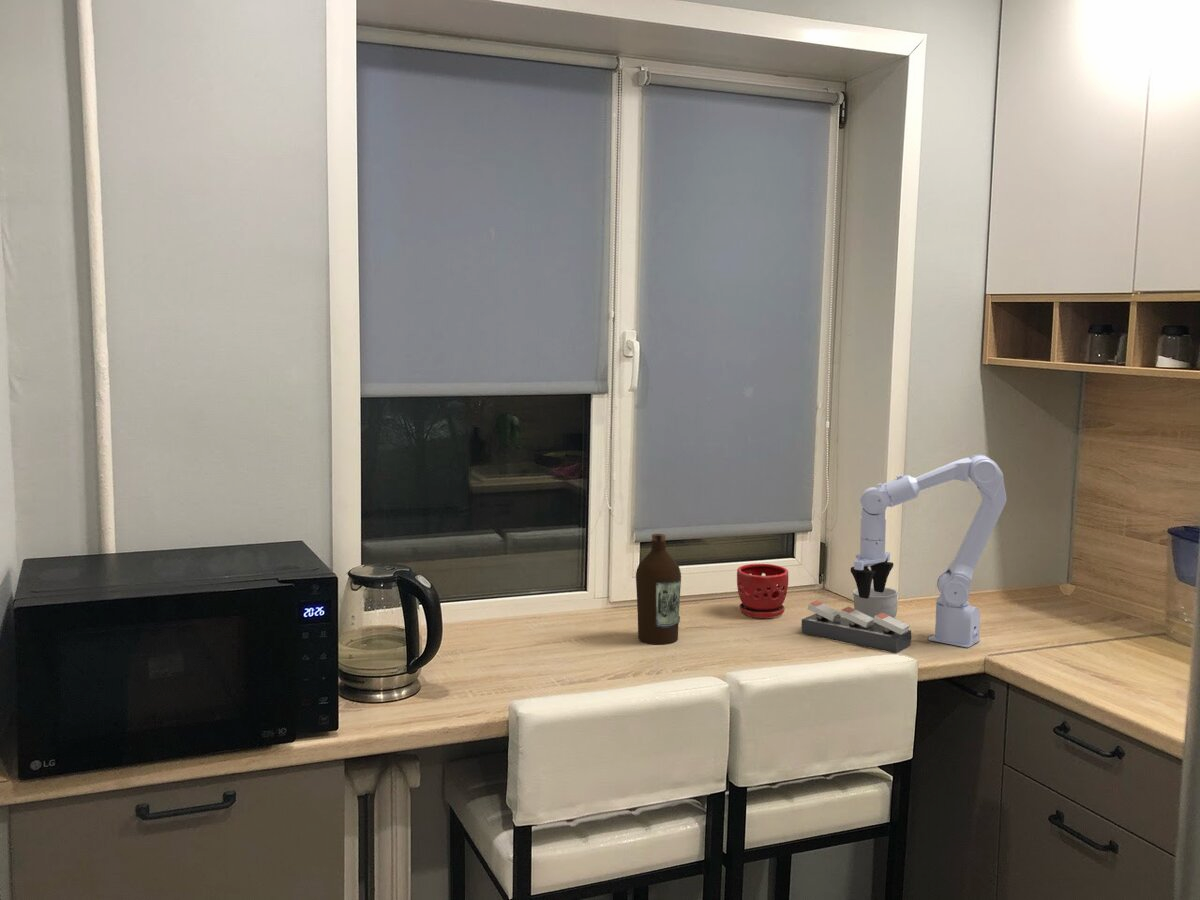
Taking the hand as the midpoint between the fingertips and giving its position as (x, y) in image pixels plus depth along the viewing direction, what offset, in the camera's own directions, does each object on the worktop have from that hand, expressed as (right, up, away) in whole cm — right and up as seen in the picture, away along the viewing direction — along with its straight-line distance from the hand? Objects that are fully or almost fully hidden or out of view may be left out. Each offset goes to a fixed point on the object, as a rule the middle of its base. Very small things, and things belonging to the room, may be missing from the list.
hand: (871, 594), depth 241 cm
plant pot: (-23, -8, +20) cm, 31 cm away
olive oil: (-51, -10, -2) cm, 52 cm away
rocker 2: (-5, -6, -3) cm, 8 cm away
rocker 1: (-11, -6, +3) cm, 13 cm away
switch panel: (-5, -10, -2) cm, 11 cm away
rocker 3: (+2, -7, -8) cm, 11 cm away
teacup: (+5, -9, +14) cm, 18 cm away
